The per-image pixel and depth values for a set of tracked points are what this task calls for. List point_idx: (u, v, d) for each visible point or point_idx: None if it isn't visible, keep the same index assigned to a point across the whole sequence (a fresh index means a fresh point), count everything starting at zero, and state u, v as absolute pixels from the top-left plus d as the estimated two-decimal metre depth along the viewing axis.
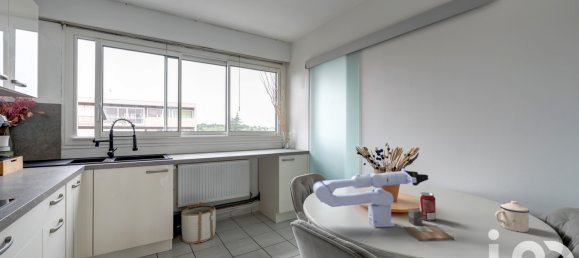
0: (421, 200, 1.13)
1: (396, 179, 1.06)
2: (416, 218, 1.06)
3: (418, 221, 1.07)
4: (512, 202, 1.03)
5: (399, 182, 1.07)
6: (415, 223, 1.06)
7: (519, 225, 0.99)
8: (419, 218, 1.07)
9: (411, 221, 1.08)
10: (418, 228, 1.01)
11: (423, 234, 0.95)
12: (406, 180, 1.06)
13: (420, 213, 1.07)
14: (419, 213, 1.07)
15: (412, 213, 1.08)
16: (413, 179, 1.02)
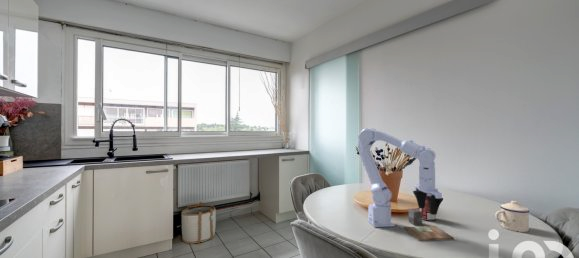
0: None
1: (426, 178, 0.95)
2: (416, 218, 1.06)
3: (418, 221, 1.07)
4: (512, 202, 1.03)
5: (427, 182, 0.95)
6: (415, 223, 1.06)
7: (519, 225, 0.99)
8: (419, 218, 1.07)
9: (411, 221, 1.08)
10: (418, 228, 1.01)
11: (423, 234, 0.95)
12: (429, 190, 0.95)
13: (420, 213, 1.07)
14: (419, 213, 1.07)
15: (412, 213, 1.08)
16: (440, 195, 0.90)
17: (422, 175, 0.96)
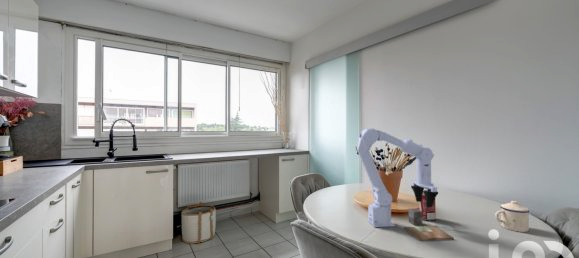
0: None
1: (426, 174, 1.04)
2: (416, 218, 1.06)
3: (418, 221, 1.07)
4: (512, 202, 1.03)
5: (423, 177, 1.04)
6: (415, 223, 1.06)
7: (519, 225, 0.99)
8: (419, 218, 1.07)
9: (411, 221, 1.08)
10: (418, 228, 1.01)
11: (423, 234, 0.95)
12: (426, 184, 1.04)
13: (420, 213, 1.07)
14: (419, 213, 1.07)
15: (412, 213, 1.08)
16: (435, 189, 1.00)
17: (423, 171, 1.04)
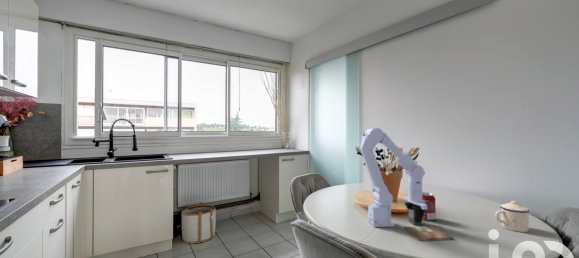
0: None
1: (418, 191, 1.06)
2: None
3: None
4: (512, 202, 1.03)
5: (414, 194, 1.06)
6: (415, 223, 1.06)
7: (519, 225, 0.99)
8: None
9: (411, 221, 1.08)
10: (418, 228, 1.01)
11: (423, 234, 0.95)
12: (417, 201, 1.06)
13: None
14: None
15: (412, 212, 1.08)
16: (426, 206, 1.01)
17: (415, 189, 1.06)
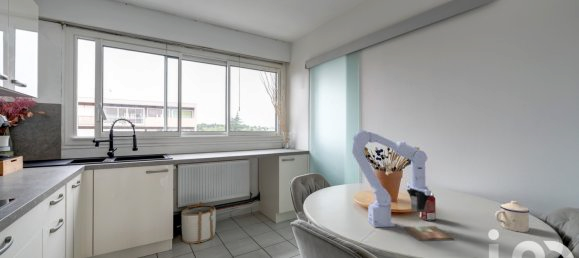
0: None
1: (420, 177, 1.03)
2: None
3: None
4: (512, 202, 1.03)
5: (417, 180, 1.03)
6: (418, 210, 1.03)
7: (519, 225, 0.99)
8: None
9: (414, 208, 1.05)
10: (418, 228, 1.01)
11: (423, 234, 0.95)
12: (420, 188, 1.02)
13: None
14: None
15: (415, 199, 1.04)
16: (429, 192, 0.98)
17: (416, 174, 1.03)
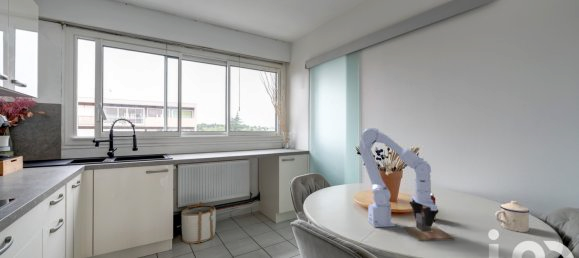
0: None
1: (422, 190, 0.98)
2: (424, 223, 0.98)
3: (427, 227, 0.98)
4: (512, 202, 1.03)
5: (422, 194, 0.98)
6: (423, 229, 0.98)
7: (519, 225, 0.99)
8: None
9: (419, 226, 1.00)
10: None
11: (423, 234, 0.95)
12: (425, 202, 0.97)
13: None
14: None
15: (420, 217, 0.99)
16: (435, 207, 0.93)
17: (419, 187, 0.99)
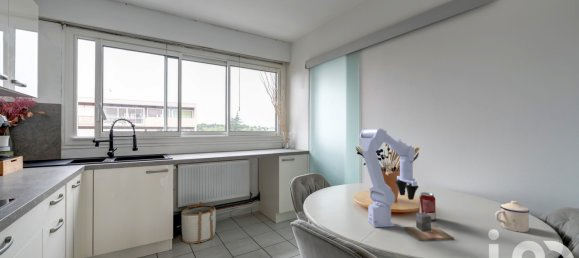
0: (421, 200, 1.13)
1: (411, 170, 1.15)
2: (424, 223, 0.98)
3: (427, 227, 0.98)
4: (512, 202, 1.03)
5: (405, 173, 1.15)
6: (423, 229, 0.98)
7: (519, 225, 0.99)
8: (427, 224, 0.98)
9: (419, 226, 1.00)
10: None
11: (423, 234, 0.95)
12: (407, 179, 1.15)
13: (429, 218, 0.98)
14: (428, 218, 0.98)
15: (420, 217, 0.99)
16: (415, 183, 1.10)
17: (409, 168, 1.15)
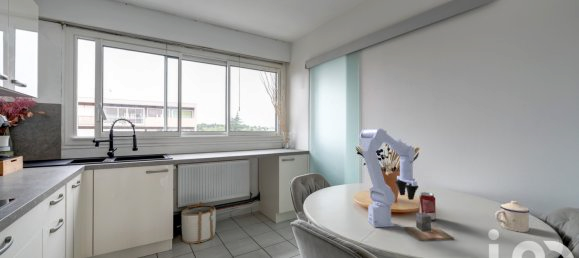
0: (421, 200, 1.13)
1: (411, 170, 1.15)
2: (424, 223, 0.98)
3: (427, 227, 0.98)
4: (512, 202, 1.03)
5: (405, 173, 1.15)
6: (423, 229, 0.98)
7: (519, 225, 0.99)
8: (427, 224, 0.98)
9: (419, 226, 1.00)
10: None
11: (423, 234, 0.95)
12: (407, 179, 1.15)
13: (429, 218, 0.98)
14: (428, 218, 0.98)
15: (420, 217, 0.99)
16: (415, 183, 1.10)
17: (409, 168, 1.15)
